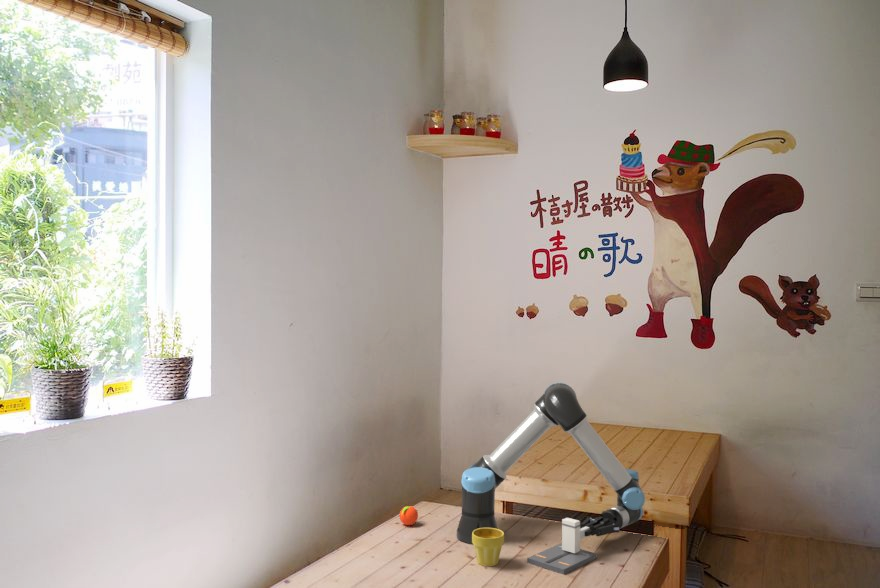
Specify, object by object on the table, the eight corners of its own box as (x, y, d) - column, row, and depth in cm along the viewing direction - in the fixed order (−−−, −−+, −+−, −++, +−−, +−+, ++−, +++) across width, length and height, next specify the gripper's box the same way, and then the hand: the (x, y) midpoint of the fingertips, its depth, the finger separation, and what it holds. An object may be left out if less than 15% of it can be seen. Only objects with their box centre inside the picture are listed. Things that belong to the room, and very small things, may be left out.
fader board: (527, 562, 240) (527, 557, 240) (560, 547, 254) (560, 542, 254) (563, 574, 230) (563, 569, 230) (596, 558, 244) (596, 553, 244)
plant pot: (502, 570, 233) (502, 539, 233) (469, 567, 236) (469, 536, 235) (505, 558, 244) (505, 528, 244) (474, 555, 246) (474, 526, 246)
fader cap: (561, 549, 246) (561, 519, 246) (566, 547, 248) (567, 517, 248) (574, 553, 243) (574, 523, 242) (579, 551, 245) (580, 520, 245)
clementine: (409, 529, 271) (409, 510, 271) (393, 526, 275) (394, 507, 275) (421, 524, 278) (421, 505, 278) (406, 520, 282) (406, 502, 282)
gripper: (630, 534, 259) (594, 551, 241) (597, 525, 268) (560, 541, 250) (630, 512, 258) (594, 528, 241) (597, 504, 267) (560, 519, 250)
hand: (577, 535), depth 246 cm, fingers closed
